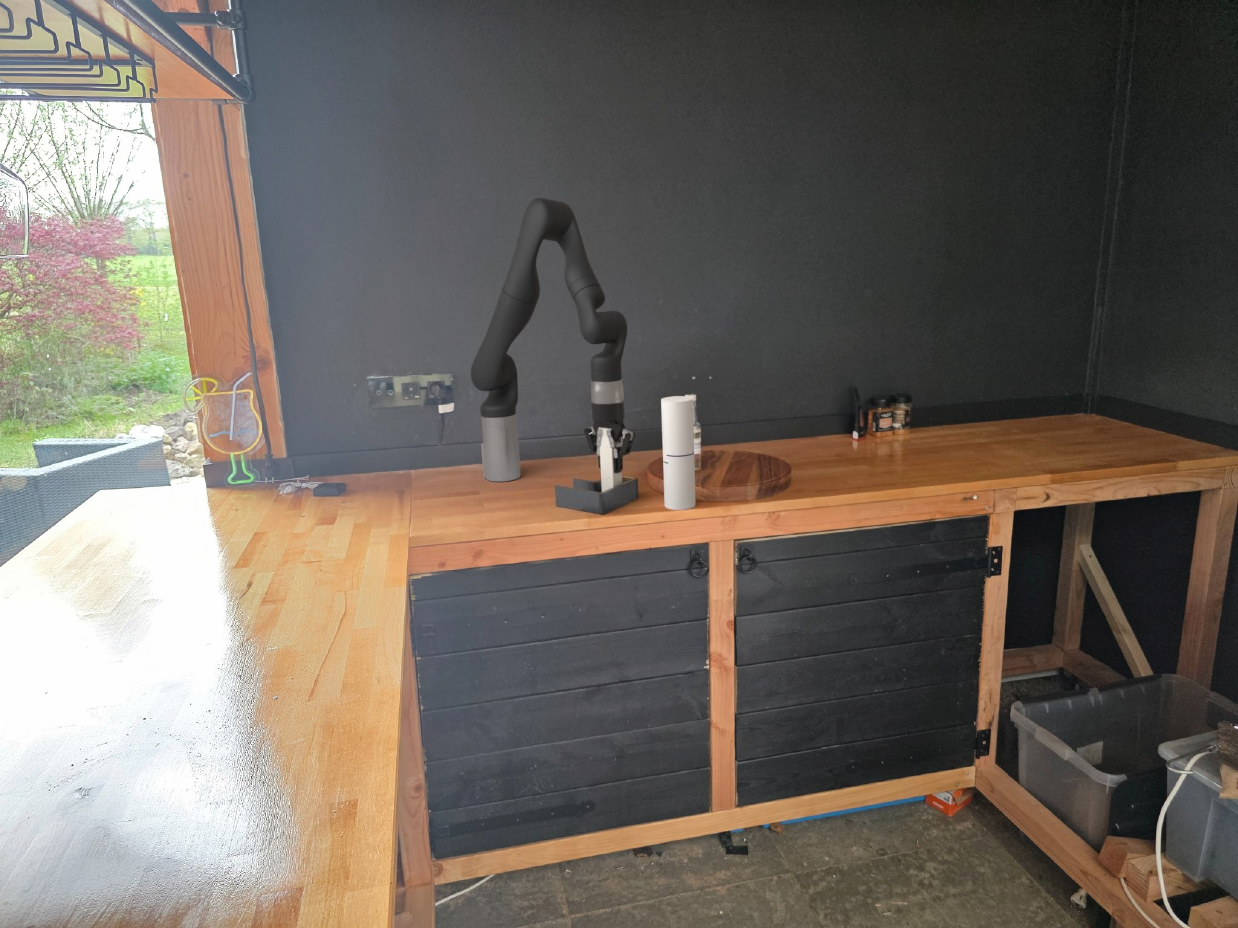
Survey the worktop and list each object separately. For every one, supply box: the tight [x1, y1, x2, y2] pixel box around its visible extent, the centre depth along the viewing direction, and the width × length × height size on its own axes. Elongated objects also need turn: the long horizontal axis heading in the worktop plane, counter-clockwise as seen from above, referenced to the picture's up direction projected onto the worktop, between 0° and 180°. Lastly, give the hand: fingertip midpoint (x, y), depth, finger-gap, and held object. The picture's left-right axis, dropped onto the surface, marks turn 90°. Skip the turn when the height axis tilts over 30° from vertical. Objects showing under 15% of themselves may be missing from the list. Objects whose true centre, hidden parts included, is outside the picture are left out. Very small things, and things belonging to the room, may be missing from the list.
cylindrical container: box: [660, 395, 696, 511], centre depth 192 cm, size 7×7×25 cm
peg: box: [599, 427, 623, 492], centre depth 198 cm, size 4×4×16 cm
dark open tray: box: [554, 475, 640, 516], centre depth 200 cm, size 14×14×5 cm
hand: (611, 471), depth 198 cm, fingers closed on peg, 3 cm apart
